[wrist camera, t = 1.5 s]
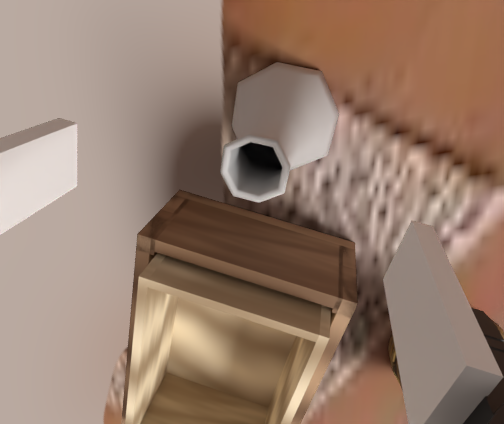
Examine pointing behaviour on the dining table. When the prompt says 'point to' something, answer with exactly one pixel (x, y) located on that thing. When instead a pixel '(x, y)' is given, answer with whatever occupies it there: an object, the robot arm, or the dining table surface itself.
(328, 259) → the wooden drawer box
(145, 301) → the pine crate
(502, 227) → the dining table surface
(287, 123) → the flask
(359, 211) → the dining table surface
